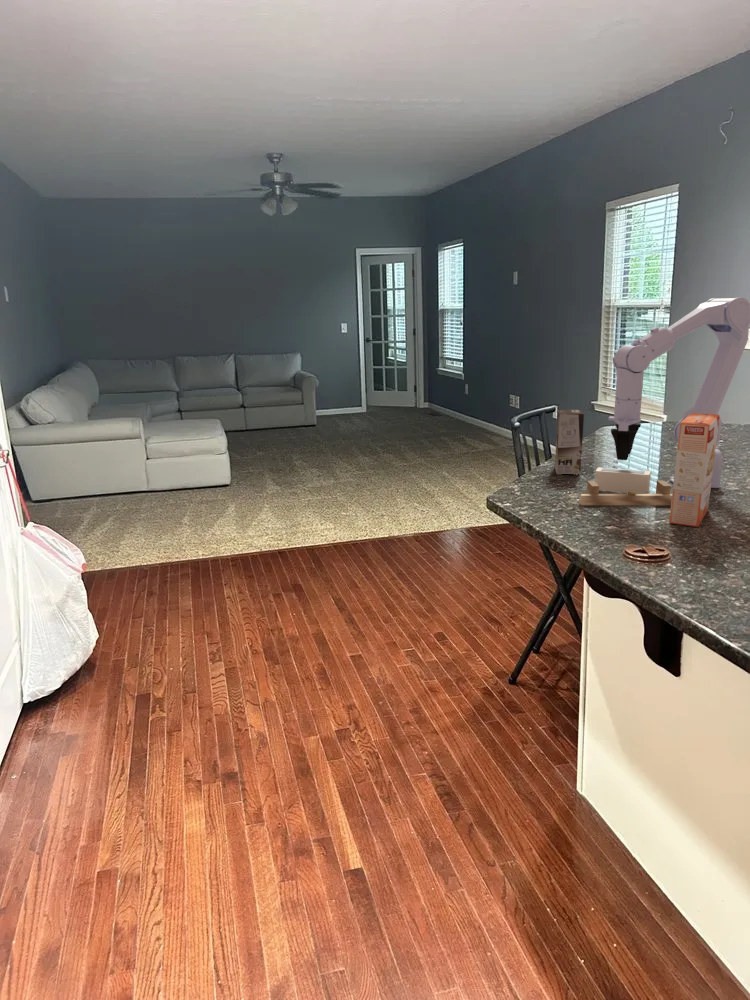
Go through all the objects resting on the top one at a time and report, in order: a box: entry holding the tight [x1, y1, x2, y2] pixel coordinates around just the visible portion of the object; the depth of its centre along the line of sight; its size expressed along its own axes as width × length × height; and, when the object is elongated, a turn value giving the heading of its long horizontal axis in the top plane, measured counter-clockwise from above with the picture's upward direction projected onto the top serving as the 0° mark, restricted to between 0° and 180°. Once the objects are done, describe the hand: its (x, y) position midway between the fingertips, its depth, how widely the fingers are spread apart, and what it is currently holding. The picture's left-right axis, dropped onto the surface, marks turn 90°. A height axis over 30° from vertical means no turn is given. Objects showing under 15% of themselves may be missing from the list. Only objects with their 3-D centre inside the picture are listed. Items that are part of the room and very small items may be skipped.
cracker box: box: [669, 413, 721, 528], centre depth 143 cm, size 14×6×21 cm, turn 148°
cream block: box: [594, 466, 652, 494], centre depth 167 cm, size 12×4×5 cm, turn 64°
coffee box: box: [554, 408, 585, 476], centre depth 186 cm, size 9×6×16 cm
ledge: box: [579, 480, 672, 506], centre depth 158 cm, size 22×7×4 cm, turn 86°
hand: (623, 456), depth 166 cm, fingers open, 7 cm apart
